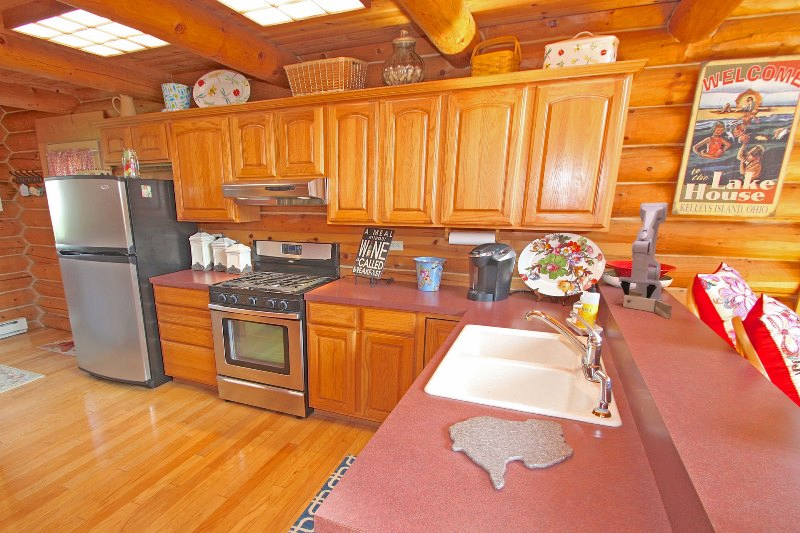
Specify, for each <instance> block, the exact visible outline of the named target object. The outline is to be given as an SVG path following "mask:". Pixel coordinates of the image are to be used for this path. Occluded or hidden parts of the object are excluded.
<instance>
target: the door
mask: <svg viewBox="0 0 800 533" xmlns="http://www.w3.org/2000/svg"><path fill="white" fill-rule="evenodd" d="M623 295H624V294H623ZM656 301H659V300H654V299H648V298H641V297H635V296H629V295H624V296H623V304H622V305H623V306H622V307H623V308H629V309H634V310H639V311H646V312H650V313H655V308H656Z"/></svg>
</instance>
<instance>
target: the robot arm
mask: <svg viewBox="0 0 800 533" xmlns="http://www.w3.org/2000/svg"><path fill="white" fill-rule="evenodd" d="M668 208H669V204H668V202H642V203H641V204H640V206H639V217H640V220H641V222H642V226H641V227H640V228H639V229H638V231H637V234H636V239H635V241H633V242H632V245H631V258H632V263H631V274H630V277H627V276H626V277H625V276H624V277H623V276H619V277H618V282H619V283H620V286H621V288H622V292H623V295H629V289H630V287H631V284H635V290H634V291H637V292H639V293H642V297H644V298H648V299H654V300H659V301H662V299H661V298H662V289H663V285H662V283H661V281H660V277H661V267H662V266H661V263H660V262H659V261H658V260H656V259H655V256H656V255H655V254H656V249H657V248H656V247H657V241H658V234H659V228H660V227H661V224H662V223H665V222H666V220H667V218H668V217H667V216H668V210H669V209H668Z"/></svg>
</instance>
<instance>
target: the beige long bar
mask: <svg viewBox="0 0 800 533" xmlns="http://www.w3.org/2000/svg"><path fill="white" fill-rule="evenodd" d="M632 295H635V296H642V293H639V292H637V291H635V290H634V289H630V288H629V296H632ZM672 312H673V305H671V304H669V303H666V302H663V301H662V300H661V301H656V308H655V312H654V314H656V313H657V314H656V315H658V314H659V316H660V315H661V316H660V317H663V318H665V319H672Z"/></svg>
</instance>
